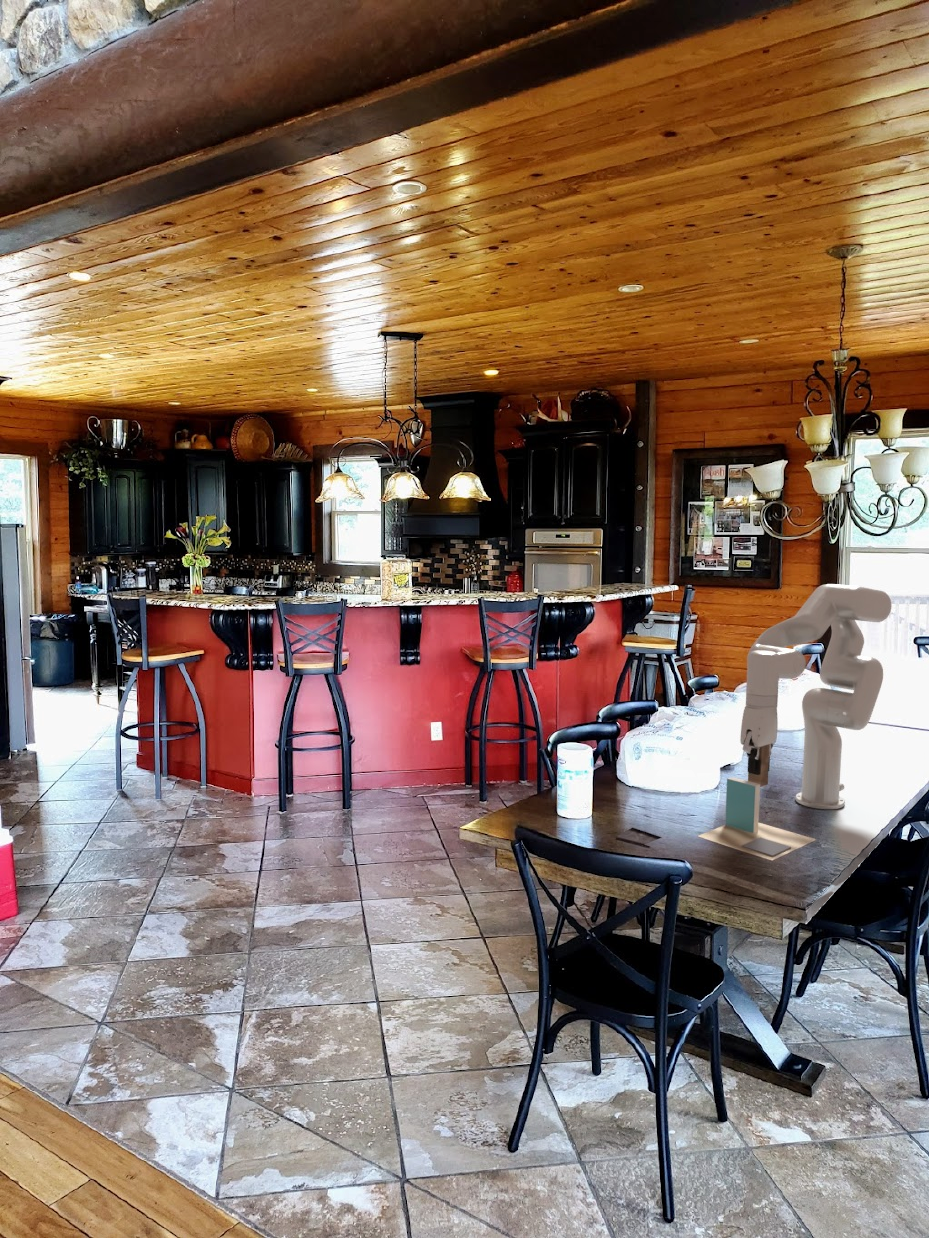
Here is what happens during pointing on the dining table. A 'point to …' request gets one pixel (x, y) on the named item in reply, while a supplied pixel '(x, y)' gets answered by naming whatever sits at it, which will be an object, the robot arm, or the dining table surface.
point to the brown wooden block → (761, 767)
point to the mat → (766, 847)
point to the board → (739, 837)
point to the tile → (742, 804)
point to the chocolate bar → (637, 837)
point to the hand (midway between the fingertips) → (758, 771)
